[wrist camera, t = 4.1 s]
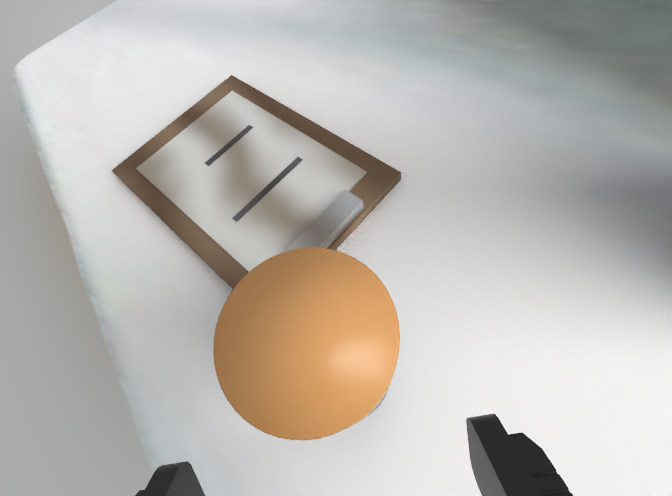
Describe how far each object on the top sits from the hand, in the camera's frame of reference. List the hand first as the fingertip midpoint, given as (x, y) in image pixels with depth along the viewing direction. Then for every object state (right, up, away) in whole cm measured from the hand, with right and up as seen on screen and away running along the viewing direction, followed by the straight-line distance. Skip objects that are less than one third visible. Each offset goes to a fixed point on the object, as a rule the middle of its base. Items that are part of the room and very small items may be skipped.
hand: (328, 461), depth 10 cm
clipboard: (-7, +12, +18) cm, 22 cm away
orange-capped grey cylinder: (+1, -1, +10) cm, 10 cm away
